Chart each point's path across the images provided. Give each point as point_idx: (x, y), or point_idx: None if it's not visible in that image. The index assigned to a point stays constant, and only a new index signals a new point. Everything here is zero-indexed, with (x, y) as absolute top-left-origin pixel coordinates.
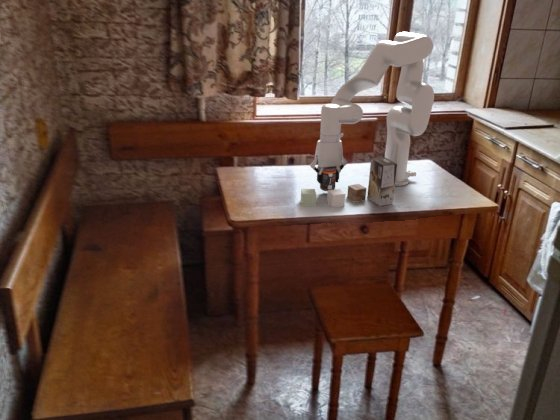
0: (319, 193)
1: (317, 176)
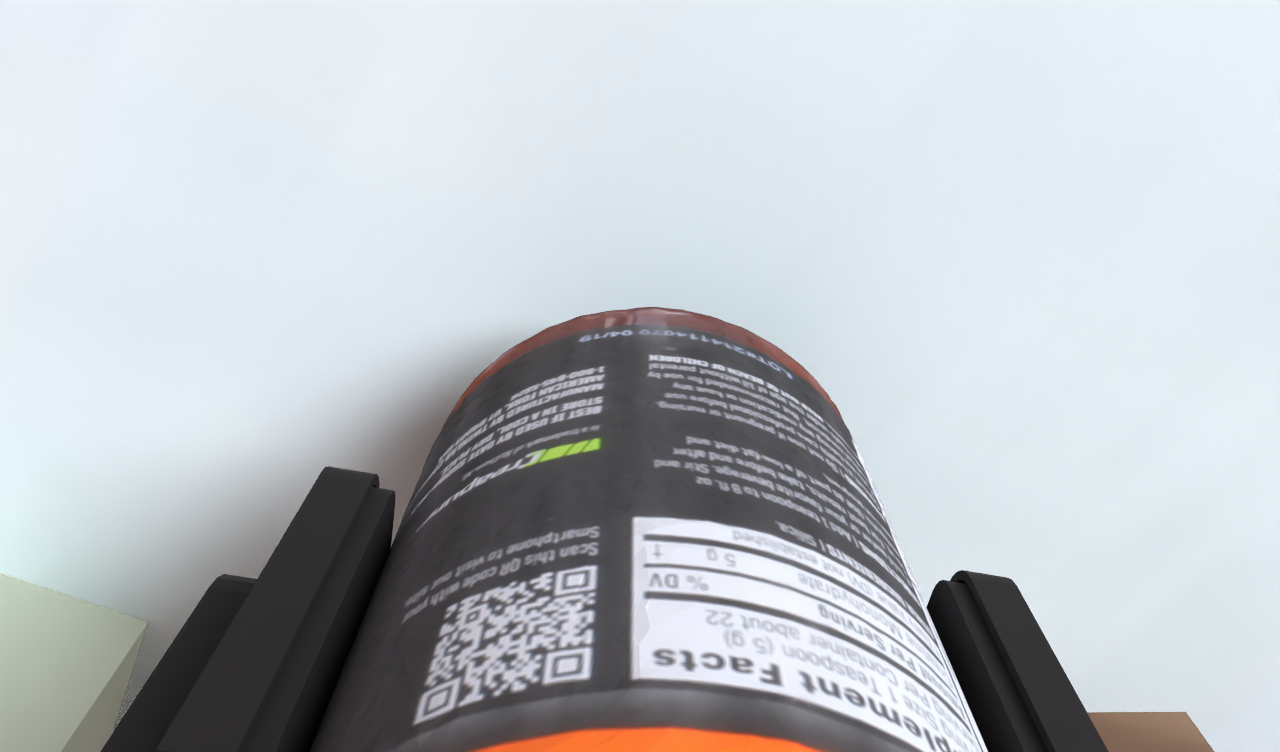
0: (480, 323)
1: (143, 727)
